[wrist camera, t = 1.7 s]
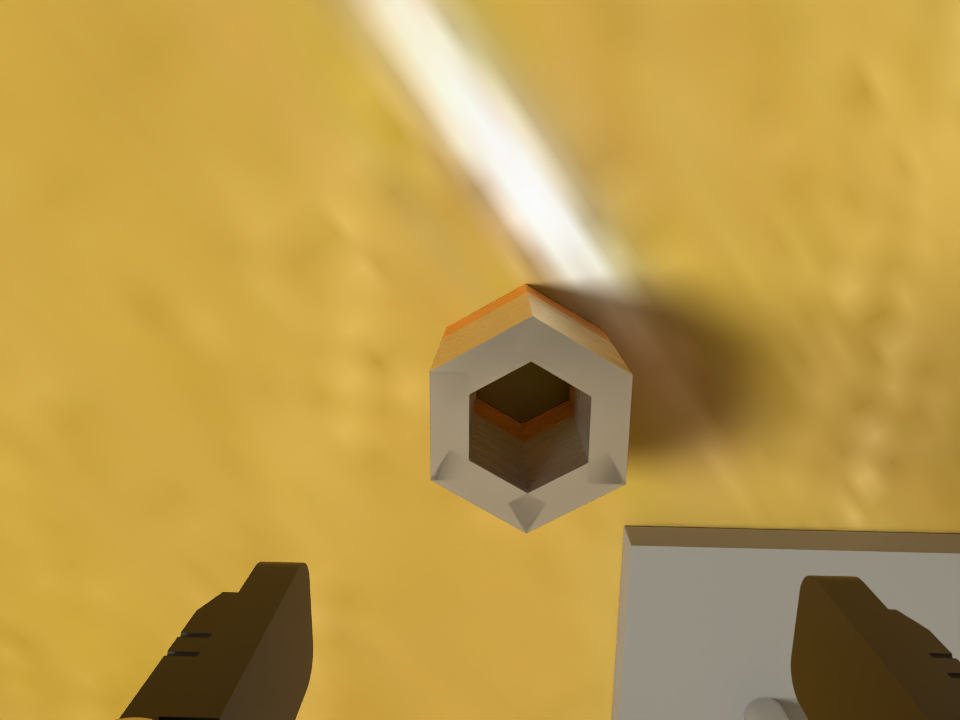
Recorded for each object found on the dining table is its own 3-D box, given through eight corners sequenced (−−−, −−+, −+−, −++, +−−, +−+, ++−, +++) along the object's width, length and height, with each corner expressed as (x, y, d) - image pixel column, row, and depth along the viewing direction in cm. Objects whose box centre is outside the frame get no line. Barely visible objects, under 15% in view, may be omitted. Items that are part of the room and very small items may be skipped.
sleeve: (446, 454, 27) (430, 531, 21) (446, 282, 25) (428, 314, 19) (596, 457, 27) (622, 535, 21) (605, 285, 25) (636, 317, 19)
